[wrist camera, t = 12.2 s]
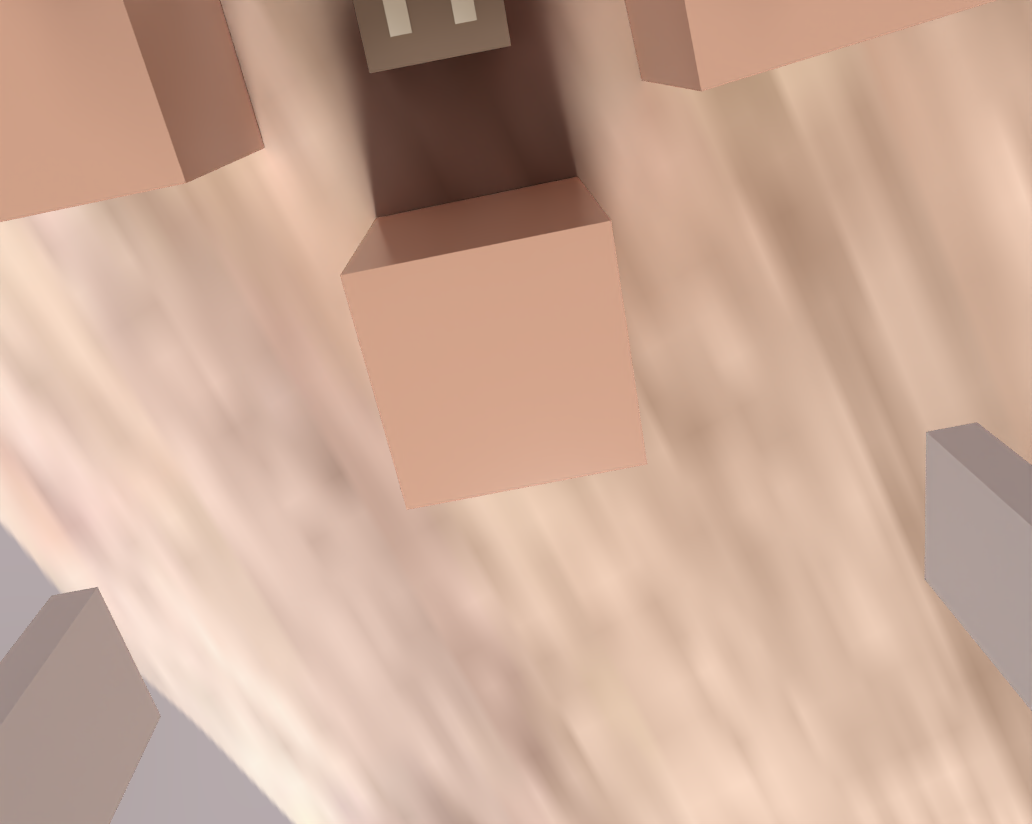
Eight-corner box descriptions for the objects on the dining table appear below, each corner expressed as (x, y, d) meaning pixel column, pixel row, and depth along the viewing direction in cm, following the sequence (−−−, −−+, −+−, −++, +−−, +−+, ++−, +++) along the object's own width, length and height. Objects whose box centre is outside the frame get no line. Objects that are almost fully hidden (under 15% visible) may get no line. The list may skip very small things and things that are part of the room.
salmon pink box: (-34, -44, 25) (-246, -82, 18) (191, -94, 25) (69, -154, 18) (61, 190, 28) (-89, 240, 21) (264, 148, 28) (186, 183, 20)
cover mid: (424, 402, 31) (406, 510, 24) (376, 217, 29) (340, 275, 21) (608, 366, 31) (647, 464, 24) (577, 176, 28) (611, 220, 21)
